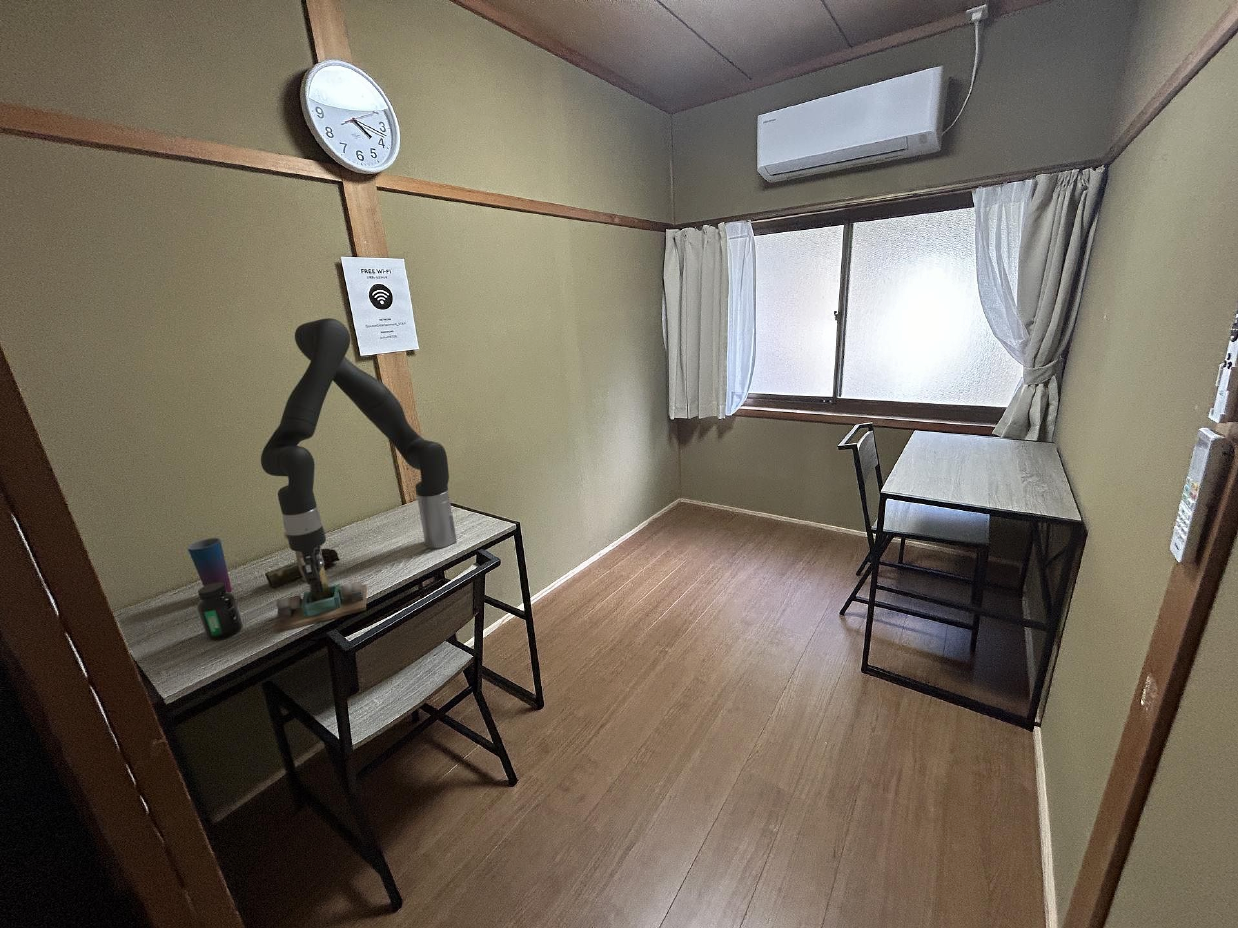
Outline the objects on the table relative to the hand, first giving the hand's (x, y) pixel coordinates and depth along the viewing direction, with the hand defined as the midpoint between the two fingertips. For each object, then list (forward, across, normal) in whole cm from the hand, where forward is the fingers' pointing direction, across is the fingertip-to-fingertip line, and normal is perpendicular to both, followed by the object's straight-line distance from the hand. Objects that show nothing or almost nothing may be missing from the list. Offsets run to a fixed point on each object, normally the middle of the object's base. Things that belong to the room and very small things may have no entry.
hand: (320, 590), depth 124 cm
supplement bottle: (+5, 0, +20) cm, 21 cm away
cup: (+5, +22, +26) cm, 35 cm away
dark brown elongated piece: (+6, +24, +7) cm, 25 cm away
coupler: (+2, 0, 0) cm, 2 cm away
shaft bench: (+5, 0, 0) cm, 5 cm away
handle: (+5, +19, +5) cm, 20 cm away
